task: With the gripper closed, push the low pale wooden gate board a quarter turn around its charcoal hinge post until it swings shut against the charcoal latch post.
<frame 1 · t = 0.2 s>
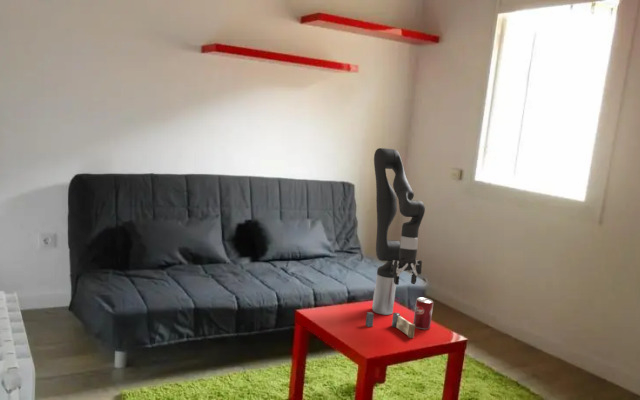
hand: (404, 284, 243), 18 cm above the table, tool pointing down, fingers open, 8 cm apart
gate frame: (395, 326, 241), on the table
soda can: (421, 327, 244), on the table
gate: (405, 326, 234), point 3 cm above the table, hinge at 0.0°
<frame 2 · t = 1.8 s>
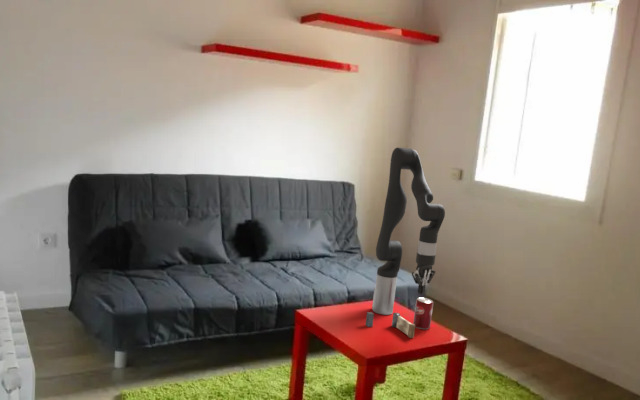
hand: (420, 293, 230), 18 cm above the table, tool pointing down, fingers closed
nothing on the table moved.
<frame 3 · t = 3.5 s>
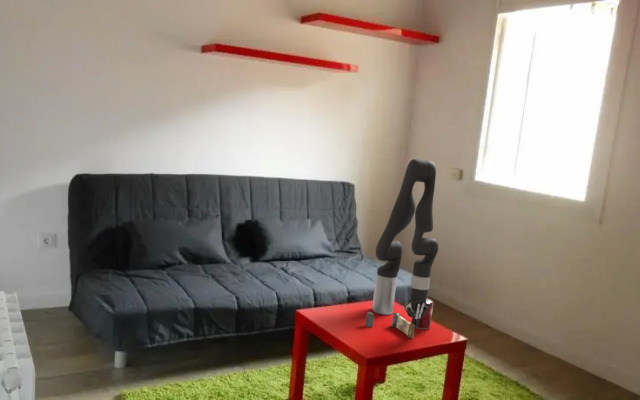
hand: (414, 326, 231), 4 cm above the table, tool pointing down, fingers closed
gate: (405, 326, 234), point 3 cm above the table, hinge at -0.5°, touching gripper
everything else where it was.
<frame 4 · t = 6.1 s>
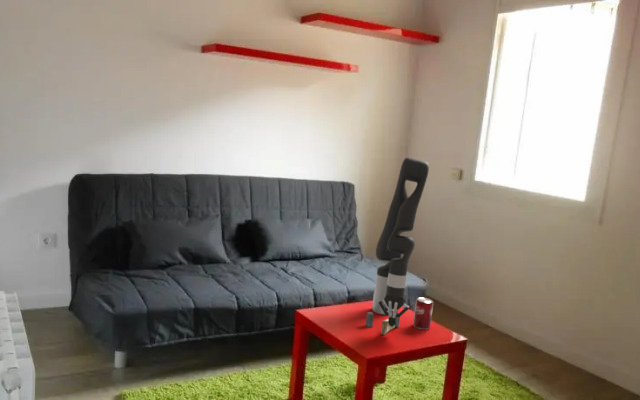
hand: (391, 325, 230), 4 cm above the table, tool pointing down, fingers closed
gate: (389, 324, 234), point 3 cm above the table, hinge at -54.2°, touching gripper
everything else where it was.
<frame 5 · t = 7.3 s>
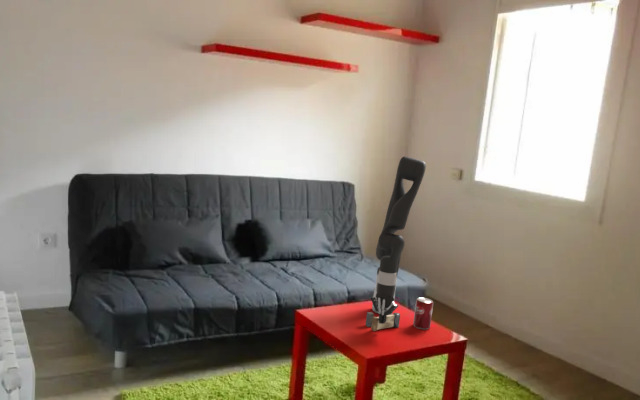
hand: (381, 322, 232), 4 cm above the table, tool pointing down, fingers closed
gate: (383, 322, 236), point 3 cm above the table, hinge at -76.7°, touching gripper
everything else where it was.
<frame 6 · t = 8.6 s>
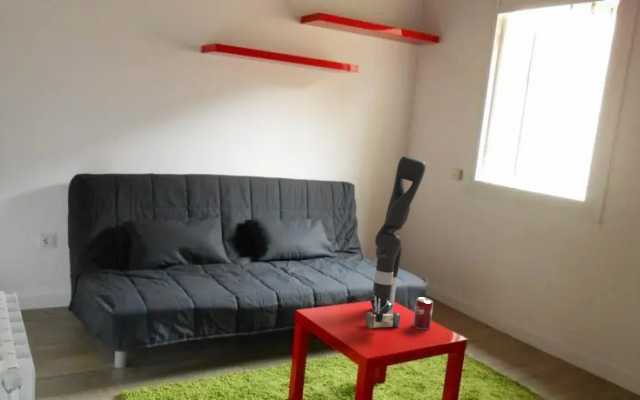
hand: (378, 321, 233), 4 cm above the table, tool pointing down, fingers closed
gate: (381, 320, 237), point 3 cm above the table, hinge at -89.1°
everything else where it was.
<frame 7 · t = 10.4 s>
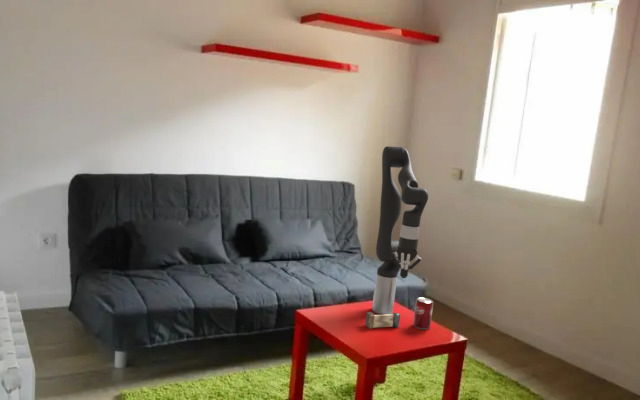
hand: (403, 277, 230), 24 cm above the table, tool pointing down, fingers closed
nothing on the table moved.
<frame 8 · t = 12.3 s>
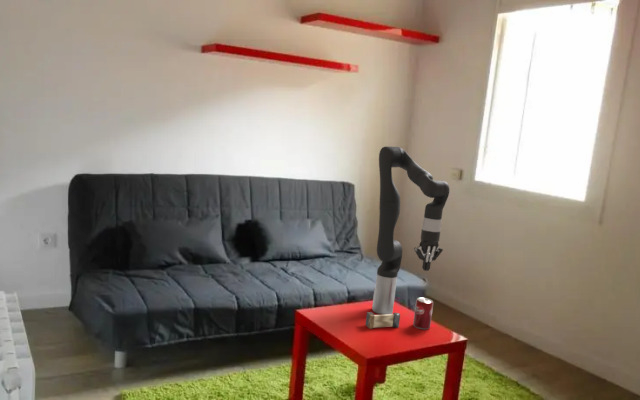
hand: (425, 270, 232), 27 cm above the table, tool pointing down, fingers closed
nothing on the table moved.
at the end: gate at -89° (first picture: +0°); soda can moved 0.2 cm from its start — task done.
